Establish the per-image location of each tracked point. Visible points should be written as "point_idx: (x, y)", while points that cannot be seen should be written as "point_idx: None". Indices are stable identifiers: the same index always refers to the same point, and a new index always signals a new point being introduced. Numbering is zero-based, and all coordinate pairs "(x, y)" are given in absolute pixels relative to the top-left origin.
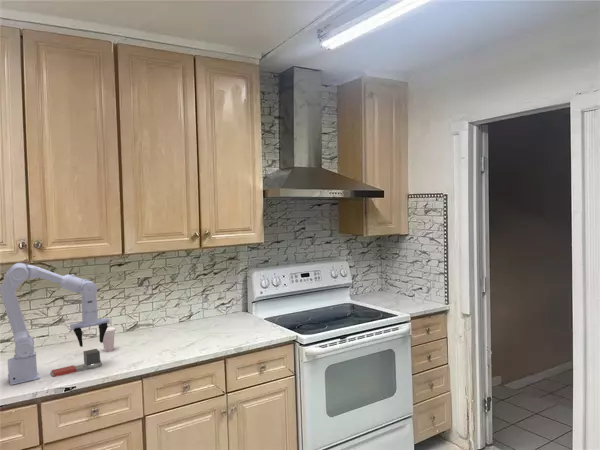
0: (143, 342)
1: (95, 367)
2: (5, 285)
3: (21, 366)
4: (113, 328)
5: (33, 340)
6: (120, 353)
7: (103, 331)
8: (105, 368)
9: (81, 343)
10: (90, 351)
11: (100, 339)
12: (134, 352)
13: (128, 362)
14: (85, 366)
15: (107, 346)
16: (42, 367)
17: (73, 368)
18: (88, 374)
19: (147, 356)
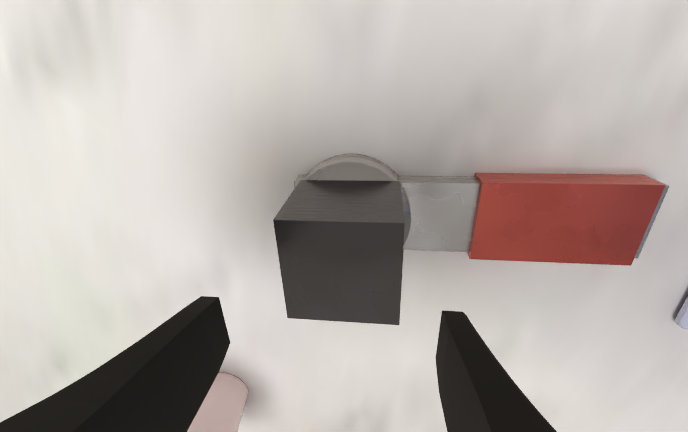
0: (63, 377)
1: (344, 155)
2: None
3: None
4: None
5: None
6: (172, 310)
7: (38, 426)
8: (283, 97)
9: (470, 339)
10: (348, 280)
11: (203, 343)
12: (95, 276)
13: (121, 115)
14: (406, 195)
15: (221, 401)
16: (589, 379)
17: (500, 192)
18: (427, 39)
19: (2, 151)
